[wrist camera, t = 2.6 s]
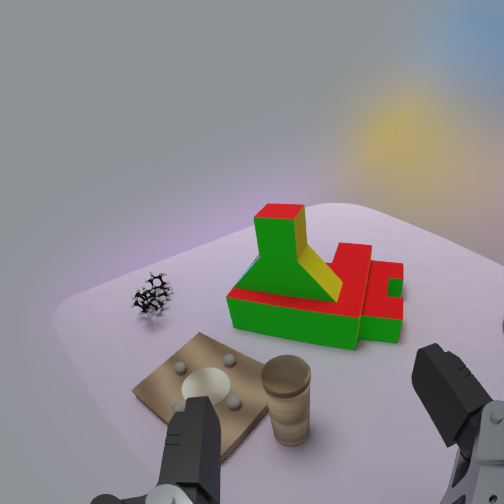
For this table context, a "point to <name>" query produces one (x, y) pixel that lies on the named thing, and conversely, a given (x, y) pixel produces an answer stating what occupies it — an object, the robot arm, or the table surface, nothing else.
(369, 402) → the table surface
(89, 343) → the table surface
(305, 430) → the oak post
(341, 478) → the table surface
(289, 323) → the building blocks toy
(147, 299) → the molecular model
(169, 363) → the walnut base board
